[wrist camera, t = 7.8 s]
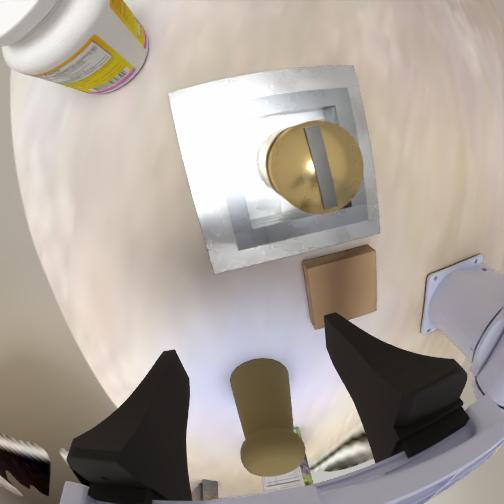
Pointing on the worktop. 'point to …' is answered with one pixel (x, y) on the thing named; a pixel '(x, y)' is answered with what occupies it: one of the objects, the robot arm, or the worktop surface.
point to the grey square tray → (247, 167)
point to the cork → (266, 418)
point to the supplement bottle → (73, 42)
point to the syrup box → (289, 477)
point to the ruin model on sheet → (206, 491)
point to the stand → (341, 284)
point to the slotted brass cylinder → (313, 166)
